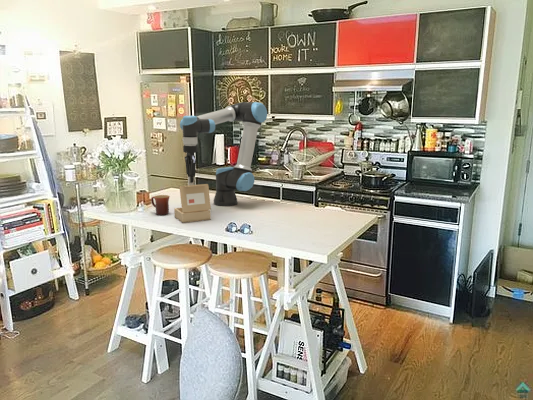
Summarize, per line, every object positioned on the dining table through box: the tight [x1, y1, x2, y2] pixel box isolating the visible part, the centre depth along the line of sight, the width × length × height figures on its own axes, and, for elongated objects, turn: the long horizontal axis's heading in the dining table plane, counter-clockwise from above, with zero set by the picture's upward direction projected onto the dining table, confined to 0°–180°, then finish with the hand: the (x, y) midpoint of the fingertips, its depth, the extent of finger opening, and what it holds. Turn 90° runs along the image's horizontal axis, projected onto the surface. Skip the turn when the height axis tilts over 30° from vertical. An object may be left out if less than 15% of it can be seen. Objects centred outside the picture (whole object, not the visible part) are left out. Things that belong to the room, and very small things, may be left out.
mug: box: [150, 194, 171, 216], centre depth 258 cm, size 12×9×10 cm
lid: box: [179, 183, 212, 213], centre depth 241 cm, size 16×14×4 cm
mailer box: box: [174, 207, 212, 224], centre depth 249 cm, size 16×14×5 cm
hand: (191, 188), depth 246 cm, fingers closed
